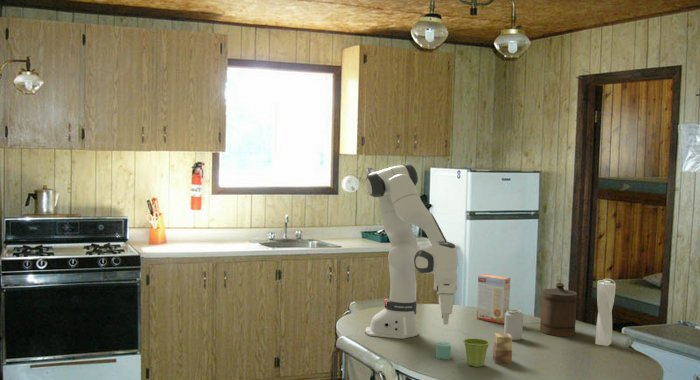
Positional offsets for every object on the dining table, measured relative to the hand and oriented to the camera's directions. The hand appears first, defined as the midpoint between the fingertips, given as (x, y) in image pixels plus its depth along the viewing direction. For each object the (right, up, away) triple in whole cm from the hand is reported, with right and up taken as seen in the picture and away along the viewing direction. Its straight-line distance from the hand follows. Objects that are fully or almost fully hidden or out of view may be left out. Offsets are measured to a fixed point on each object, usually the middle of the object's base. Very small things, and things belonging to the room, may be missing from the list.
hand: (444, 321), depth 277 cm
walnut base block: (+21, -15, -2) cm, 26 cm away
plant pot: (+10, -15, -7) cm, 20 cm away
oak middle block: (+22, -10, -2) cm, 24 cm away
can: (+33, -13, +33) cm, 48 cm away
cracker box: (+31, -12, +65) cm, 72 cm away
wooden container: (+56, -13, +46) cm, 74 cm away
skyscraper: (+70, -15, +29) cm, 77 cm away
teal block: (-1, -14, +1) cm, 14 cm away
